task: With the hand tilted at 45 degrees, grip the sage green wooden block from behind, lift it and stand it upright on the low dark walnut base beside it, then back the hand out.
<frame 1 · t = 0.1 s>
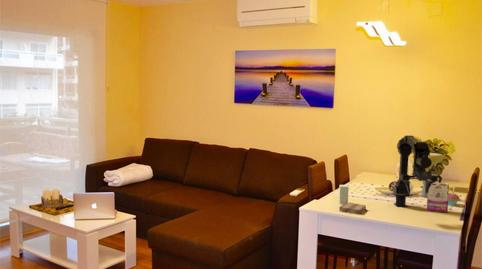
hand: (417, 193, 241), 15 cm above the table, tool pointing down, fingers open, 9 cm apart
cupcake: (451, 205, 273), on the table
coffeepot: (429, 197, 293), on the table
candy bar box: (436, 211, 260), on the table
walnut base: (352, 210, 260), on the table
sage block: (343, 203, 276), on the table
cocktail glass: (428, 188, 319), on the table
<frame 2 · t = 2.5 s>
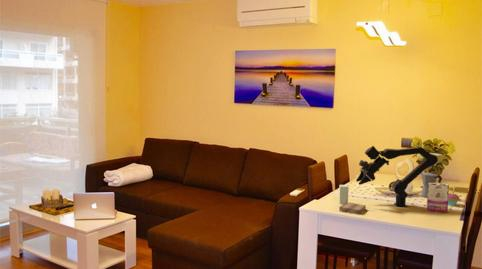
hand: (357, 182, 272), 13 cm above the table, tool tilted 45°, fingers open, 9 cm apart
nothing on the table moved.
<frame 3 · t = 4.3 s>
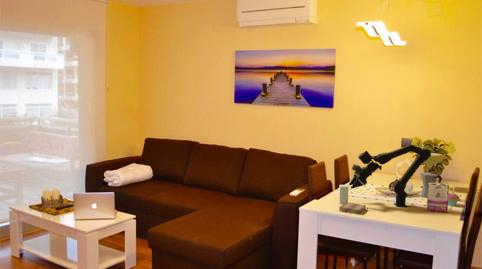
hand: (350, 186, 274), 11 cm above the table, tool tilted 45°, fingers open, 9 cm apart
nothing on the table moved.
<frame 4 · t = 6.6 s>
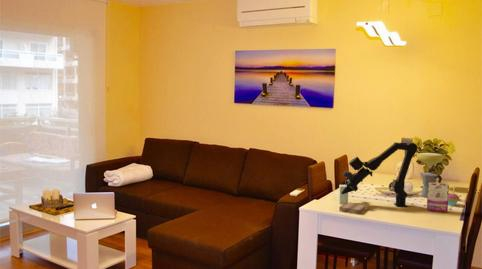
hand: (341, 192, 275), 7 cm above the table, tool tilted 45°, fingers closed on sage block, 5 cm apart
sage block: (343, 203, 276), on the table, touching gripper
everything else where it was.
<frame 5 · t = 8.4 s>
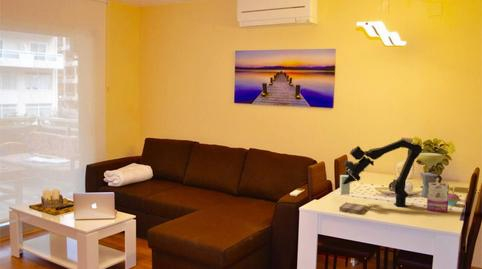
hand: (342, 182, 271), 13 cm above the table, tool tilted 45°, fingers closed on sage block, 5 cm apart
sage block: (344, 193, 272), point 7 cm above the table, touching gripper
everything else where it was.
when the fingers open (10 cm above the table, at t = 10.6 s): sage block drops 1 cm, resting on walnut base.
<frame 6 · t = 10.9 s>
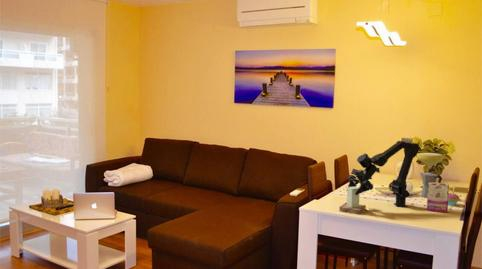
hand: (351, 192, 258), 11 cm above the table, tool tilted 45°, fingers open, 8 cm apart
sage block: (352, 206, 259), point 2 cm above the table, touching walnut base
everything else where it was.
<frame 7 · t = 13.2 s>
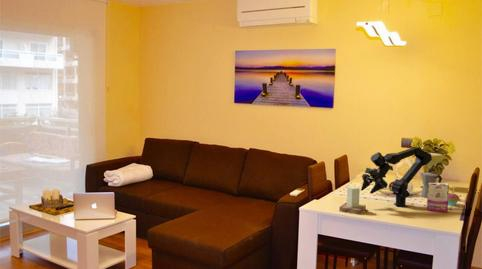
hand: (365, 191, 261), 11 cm above the table, tool tilted 45°, fingers open, 9 cm apart
nothing on the table moved.
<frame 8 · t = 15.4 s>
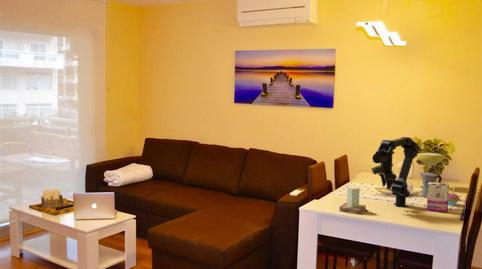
hand: (385, 188, 260), 13 cm above the table, tool pointing down, fingers open, 9 cm apart
nothing on the table moved.
at the end: sage block inside the target area on the walnut base (0.0 cm from its centre), point 2.5 cm above the walnut base's base; sage block tilted 0°; the gripper is holding nothing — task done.
